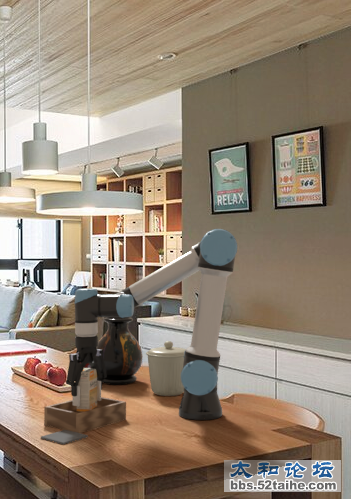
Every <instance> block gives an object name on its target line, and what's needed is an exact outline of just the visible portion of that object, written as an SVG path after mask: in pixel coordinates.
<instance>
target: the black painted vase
mask: <svg viewBox="0 0 352 499" xmlns="http://www.w3.org/2000/svg"><path fill="white" fill-rule="evenodd" d="M133 320H134V319H133V318H132V316H131V317H124V318H121V317H103V321H104V322H105V323H107V326H108V327H107V331H105V333H104V334H103V335H102V337H101V338H100V339H98V346H97V347H96V349H100V350H103V351H104V352H103V358H104V363H105V369H106V374H107V377H106V378H105V380H104V381H102V384H105V385H113V386H120V385H130V384H133V383H135V382H136V381H137V379H138V378H137V376H136V374H137V373H138V372H139V369H141V367H142V365H143V351H142V347H141V346H140V343H139V340H137V339H136V337H135V336H134V335H133V334H132V333H131V331H130V330H129V324H130V323H131V322H133ZM95 357H96V356H95ZM102 374H103V373H102Z"/></svg>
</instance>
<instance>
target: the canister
mask: <svg viewBox="0 0 352 499" xmlns="http://www.w3.org/2000/svg"><path fill="white" fill-rule="evenodd" d="M186 349H187V348H184V347H175V346H174V343H173V342H172V341H170V340H166V341H165V342H164V343H163V346H159V347H154V348H151V349H149V350H148V351H146V352H145V355H146V356H147V362H148V363H147V364H148V373H149V380H150V388H151V391H152V392H153V394H155V395H157V396H161V397H162V396H163V397H173V396H174V397H175V396H179V395H183V394H184V386H183V384H182V382H181V372H182V370H183V363H184V352H185V350H186Z"/></svg>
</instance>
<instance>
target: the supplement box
mask: <svg viewBox="0 0 352 499" xmlns="http://www.w3.org/2000/svg"><path fill="white" fill-rule="evenodd" d="M78 386H80V406H77V411H80V412H85V411H88V410H92V409H94V408H95V407H97V372H96V369H94V368H83V371H82V372H81V377H80V380H79V383H78Z"/></svg>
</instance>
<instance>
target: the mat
mask: <svg viewBox="0 0 352 499" xmlns="http://www.w3.org/2000/svg"><path fill="white" fill-rule="evenodd" d="M86 437H87V438H89V435H88V434H84V433H77V432H73V431H69V430H62V429H61V430H60V431H56V432H52V433H49V434H46V435H42V436H40V439H41V438H42V439H41V440H44V439H46V440H45V441H48V440H50V441H49V442H52V441H54V442H53V443H55V442H57V443H56V444H59V443H60V444H59V445H63V444H64V445H67V444H70V443H69V442H71V443H73V442H72V441H74V442H76V441H75V440H77V441H80V440H83V439H82V438H84V439H86ZM79 439H80V440H79ZM66 443H67V444H66Z"/></svg>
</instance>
